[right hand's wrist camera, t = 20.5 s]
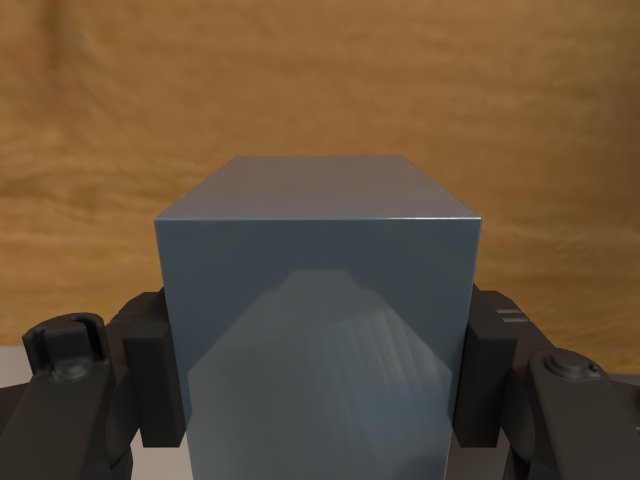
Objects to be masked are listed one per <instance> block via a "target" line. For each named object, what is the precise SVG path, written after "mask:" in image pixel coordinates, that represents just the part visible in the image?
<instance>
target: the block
mask: <svg viewBox="0 0 640 480" xmlns="http://www.w3.org/2000/svg"><path fill="white" fill-rule="evenodd" d="M154 225H155V232H156V238H157V245H158V251H159V258H160V264H161V271H162V278H163V284H164V291H165V297H166V304H167V310H168V317H169V323H170V324H171V330H172V337H173V344H174V350H175V357H176V364H177V370H178V377H179V384H180V390H181V397H182V404H183V410H184V417H185V424H186V435H187V441H188V448H189V455H190V461H191V468H192V474H193V480H445V474H446V467H447V460H448V453H449V446H450V440H451V432H452V426H453V419H454V412H455V405H456V398H457V391H458V384H459V377H460V370H461V363H462V356H463V349H464V342H465V336H466V329H467V322H468V315H469V308H470V301H471V294H472V287H473V280H474V273H475V266H476V259H477V252H478V245H479V238H480V231H481V225H482V217H480V216H479V215H478V214H477V213H475V212H474V211H473V210H471V209H470V208H469V207H467V206H466V205H465V204H464V203H462V202H461V201H460V200H458V199H457V198H456V197H455V196H453V195H452V194H451V193H449V192H448V191H447V190H446V189H444V188H443V187H442V186H440V185H439V184H438V183H437V182H435V181H434V180H433V179H431V178H430V177H429V176H427V175H426V174H425V173H424V172H422V171H421V170H420V169H418V168H417V167H416V166H415V165H413V164H412V163H411V162H409V161H408V160H407V159H406V158H404V157H403V156H401V155H386V156H235V157H234V158H232V159H231V160H230V161H229V162H227V163H226V164H225V165H223V166H222V167H221V168H219V169H218V170H217V171H215V172H214V173H213V174H212V175H210V176H209V177H208V178H206V179H205V180H204V181H202V182H201V183H200V184H198V185H197V186H196V187H195V188H193V189H192V190H191V191H189V192H188V193H187V194H185V195H184V196H183V197H181V198H180V199H179V200H178V201H176V202H175V203H174V204H172V205H171V206H170V207H168V208H167V209H166V210H165V211H163V212H162V213H161V214H159V215H158V216H157V217H155V218H154Z"/></svg>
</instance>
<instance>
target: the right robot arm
mask: <svg viewBox="0 0 640 480" xmlns="http://www.w3.org/2000/svg"><path fill="white" fill-rule="evenodd" d="M22 340H23V343H24V346H25V350H26V353H27V356H28V360H29V363H30V366H31V370H32V373H33V376H32V378H31V380H30V382H29V383H25V384H20V385H14V386H9V387H4V388H0V480H131V474H132V467H133V458H132V452H131V447H130V443H131V441H132V440H133V438H134V436H135V434H136V432H137V431H138V429H139V428H140V433H141V438H142V443H143V447H144V448H145V447H146V448H147V447H148V448H152V447H154V448H158V447H179V446H180V444H181V441H182V439H183V436H184V434H185V431H186V424H185V417H184V410H183V404H182V397H181V390H180V384H179V377H178V370H177V364H176V357H175V350H174V344H173V337H172V330H171V324H170V323H169V317H168V310H167V304H166V297H165V291H164V286H163V287H162V289H161V290H160V291H159V292H144V293H142V294H140V295H138V296H137V297H135V298H133V299H131V300H130V301H128V302H127V303H126V304H125V306H124V307H123V308H122V309H121V310H120V311H119V313H118V314H116V315H115V316H114V318H113V319H112V320H111V321H110V323H108V324H107V325H106V326H104V321H103V318H101V317H100V316H99V315H97V314H92V313H87V312H86V313H71V314H67V315H62V316H57V317H55V318H52V319H49V320H47V321H44V322H42V323H40V324H38V325H36V326H35V327H33V328H31V329H30V330H29V331H28V332H27V333H26V334H24V335H23V336H22ZM500 426H501V427H502V429H503V431H504V433H505V434H506V436H507V438H508V440H509V442H510V447H509V451H508V456H507V461H506V465H505V470H504V475H503V479H502V480H640V386H635V385H630V384H625V383H620V382H615V381H611V380H610V379H609V378H608V376H607V374H606V373H605V372H604V371H603V369H602V368H601V367H600V366H599V365H598V364H596V363H595V362H593V361H592V360H590V359H589V358H587V357H585V356H582V355H580V354H578V353H575V352H573V351H569V350H565V349H561V348H555V346H554V345H553V344H552V343H551V342H550V341H549V340H548V339H547V338H546V337H545V336H544V335H543V333H542V332H541V331H540V330H539V329H538V328H537V327H536V326H535V325H534V324H533V323H532V322H530V319H529V318H528V317H527V316H526V315H525V314H524V313H522V312H521V310H520V309H519V307H518V306H517V305H516V304H515V303H514V302H513V301H512V300H511V299H509V298H507V297H506V296H504V295H502V294H500V293H499V292H497V291H480V290H479V289H478V288H477V286H476V285H475V284H474V283H473V287H472V294H471V301H470V308H469V315H468V322H467V329H466V336H465V342H464V349H463V356H462V363H461V370H460V377H459V384H458V391H457V398H456V405H455V412H454V419H453V426H452V427H453V429H454V432H455V434H456V437H457V440H458V442H459V445H460V447H479V448H480V447H486V448H487V447H489V448H490V447H494V448H495V447H496V446H497V441H498V436H499V431H500Z"/></svg>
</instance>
